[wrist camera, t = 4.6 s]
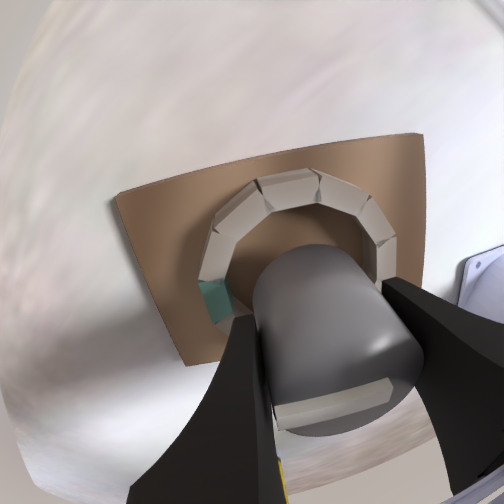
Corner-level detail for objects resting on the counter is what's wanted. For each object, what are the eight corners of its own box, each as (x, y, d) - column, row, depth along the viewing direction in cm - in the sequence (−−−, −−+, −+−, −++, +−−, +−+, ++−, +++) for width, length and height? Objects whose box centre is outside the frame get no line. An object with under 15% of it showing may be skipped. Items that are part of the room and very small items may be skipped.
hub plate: (414, 132, 12) (443, 139, 10) (412, 300, 17) (431, 324, 15) (120, 192, 13) (101, 208, 10) (186, 356, 17) (184, 387, 15)
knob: (363, 234, 11) (448, 322, 6) (358, 326, 13) (410, 420, 8) (244, 255, 11) (266, 372, 6) (259, 347, 13) (281, 457, 8)
